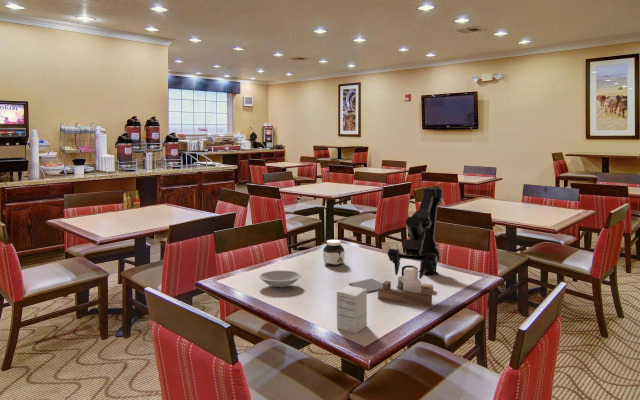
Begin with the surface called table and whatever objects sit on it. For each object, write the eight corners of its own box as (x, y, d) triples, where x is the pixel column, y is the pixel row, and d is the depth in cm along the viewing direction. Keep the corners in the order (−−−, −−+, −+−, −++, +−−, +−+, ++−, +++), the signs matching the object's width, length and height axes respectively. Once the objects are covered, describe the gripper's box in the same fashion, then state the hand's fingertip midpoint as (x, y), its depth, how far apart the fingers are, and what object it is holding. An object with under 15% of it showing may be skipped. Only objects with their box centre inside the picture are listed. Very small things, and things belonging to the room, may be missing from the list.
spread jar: (329, 267, 205) (329, 244, 203) (317, 262, 215) (317, 239, 213) (349, 264, 211) (350, 241, 209) (337, 258, 221) (337, 236, 219)
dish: (303, 281, 185) (303, 270, 184) (299, 293, 171) (299, 281, 170) (262, 281, 186) (262, 270, 185) (256, 292, 172) (255, 280, 171)
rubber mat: (371, 279, 187) (371, 278, 187) (389, 287, 177) (389, 286, 177) (348, 284, 181) (348, 283, 181) (366, 293, 171) (366, 291, 171)
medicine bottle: (397, 293, 170) (398, 264, 168) (415, 293, 171) (416, 263, 169) (402, 300, 163) (402, 269, 161) (420, 299, 164) (421, 269, 162)
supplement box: (347, 320, 145) (348, 284, 143) (367, 326, 141) (367, 288, 139) (336, 328, 139) (336, 291, 137) (356, 334, 135) (356, 295, 133)
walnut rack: (381, 294, 169) (382, 280, 168) (433, 303, 160) (433, 287, 159) (378, 298, 165) (378, 283, 164) (430, 307, 156) (431, 291, 155)
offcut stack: (399, 285, 180) (399, 279, 180) (433, 290, 174) (433, 284, 173) (396, 288, 176) (396, 283, 175) (430, 294, 170) (431, 288, 169)
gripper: (389, 228, 170) (379, 262, 162) (437, 233, 162) (429, 269, 154) (394, 243, 178) (386, 277, 170) (440, 248, 170) (433, 284, 162)
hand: (407, 276), depth 164 cm, fingers open, 9 cm apart
